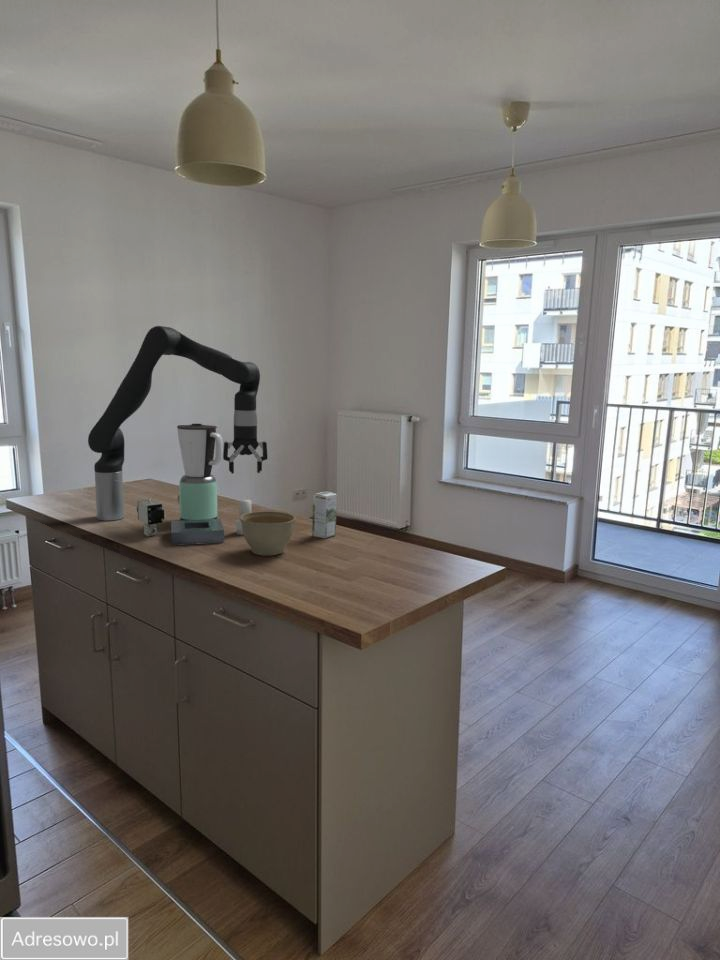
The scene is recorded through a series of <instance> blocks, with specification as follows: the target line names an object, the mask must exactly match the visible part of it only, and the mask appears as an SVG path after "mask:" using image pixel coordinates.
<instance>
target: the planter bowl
mask: <svg viewBox="0 0 720 960" xmlns="http://www.w3.org/2000/svg"><path fill="white" fill-rule="evenodd" d="M295 520H296V517H295V516H294V515H293V514H291V513H287V512H284V511H283V512H282V511H272V510H270V511H269V510H266V511H265V510H262V511H261V510H260V511H253V512H252V511H251V513H247V514H244V515H242V516H241V522H242V531H243V535H242V536H243V537H244V540H245V541H246V543H247V544H248V546H249V547H250V549H251V553H252V554H255V555H257V556H264V557H265V556H267V557H269V556H277V555H280V554H282V553H283V552H284V550H285V547H286V546H287V545H288V543H289V542H290V540H291V537H292V535H293V532H294V528H295V522H296V521H295Z"/></svg>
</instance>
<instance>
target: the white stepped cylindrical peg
mask: <svg viewBox="0 0 720 960" xmlns="http://www.w3.org/2000/svg"><path fill="white" fill-rule="evenodd" d="M238 504H239V505H238V508H239V509H238V511H239V513H238V515H239V517H238V518H239V519H237V520H236V521H235V522H236V525H235V526H236V527H235V528H236V532H235V533H236V534H237V535H241V536H244V535H243V531H242V522H241V516H242V515H244V514H247V513H252V500H251V499H240V500H239V501H238Z"/></svg>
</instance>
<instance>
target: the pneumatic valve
mask: <svg viewBox="0 0 720 960" xmlns="http://www.w3.org/2000/svg"><path fill="white" fill-rule="evenodd" d="M136 512H137V520H138V521H141V522H142V523H144V524H143V535H144V536H146V537H148V538H150V537H153V536H156V535H157V536H158V534H159V533H158V525H157V524H163V522H164V521H163V520H165V509H163V504H162V503H161V501H155V500H153V499H151V498H148V499H145V500H137V506H136Z"/></svg>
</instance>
